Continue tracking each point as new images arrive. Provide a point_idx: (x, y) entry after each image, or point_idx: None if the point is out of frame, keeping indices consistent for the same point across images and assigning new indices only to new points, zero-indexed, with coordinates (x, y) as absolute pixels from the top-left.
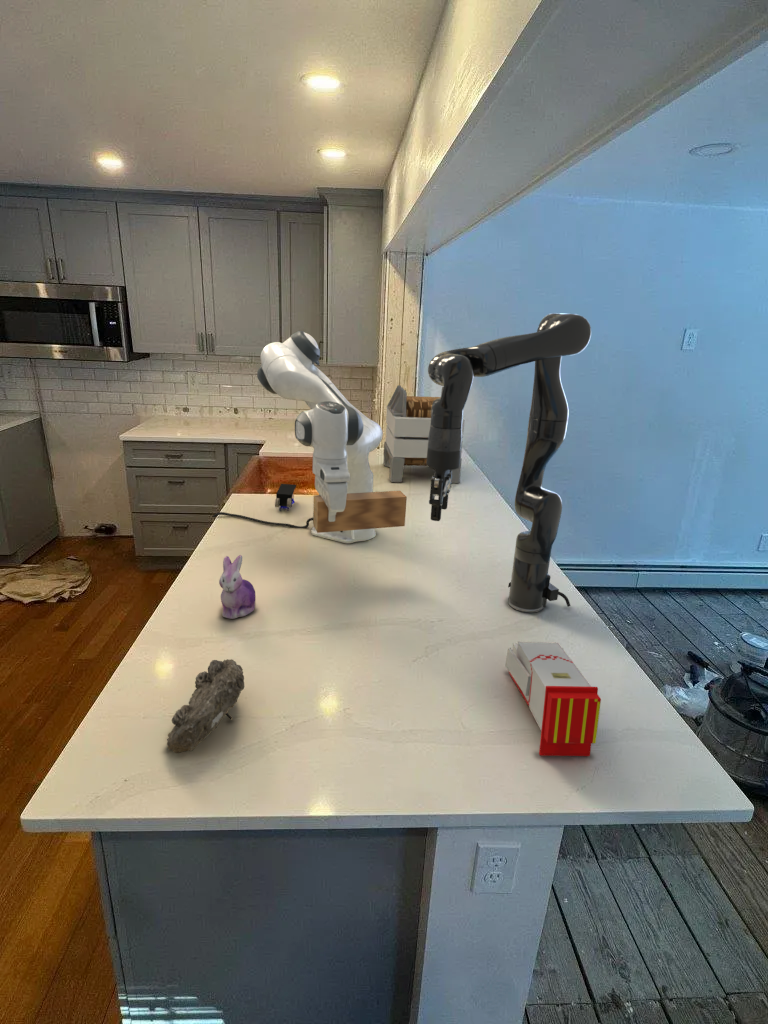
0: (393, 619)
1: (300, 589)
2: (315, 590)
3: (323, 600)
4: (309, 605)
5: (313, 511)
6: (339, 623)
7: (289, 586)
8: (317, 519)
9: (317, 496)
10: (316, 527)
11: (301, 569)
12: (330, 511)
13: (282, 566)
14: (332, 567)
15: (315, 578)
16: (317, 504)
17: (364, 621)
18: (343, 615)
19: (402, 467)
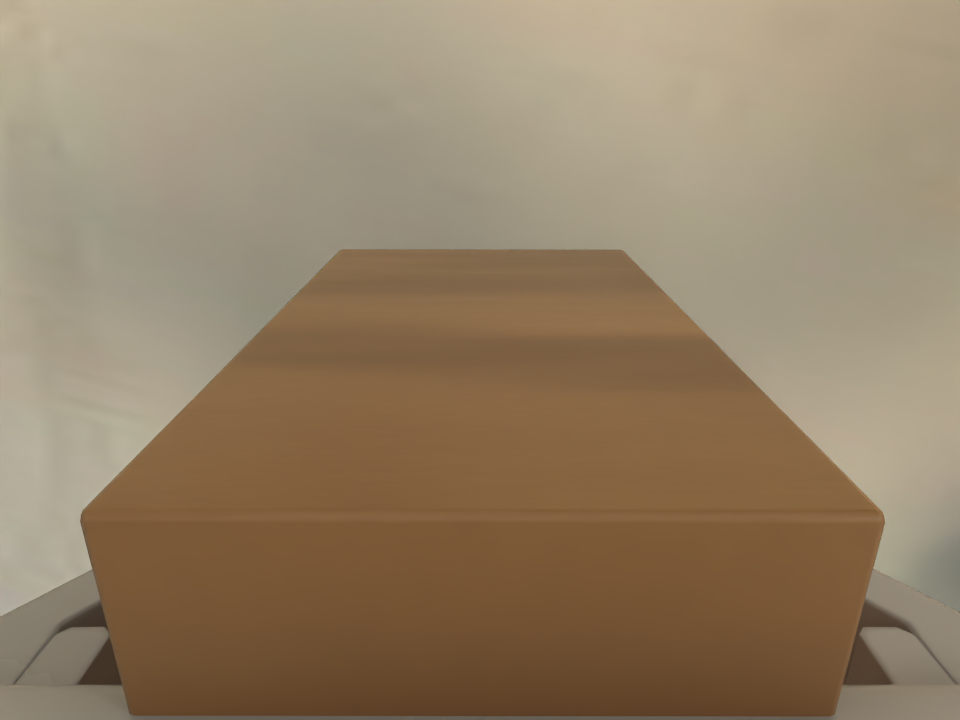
0: (101, 484)
1: (515, 77)
2: (478, 172)
3: (344, 192)
4: (296, 94)
5: (675, 312)
6: (73, 222)
7: (576, 8)
8: (287, 305)
9: (703, 615)
10: (393, 261)
11: (793, 141)
12: (15, 634)
13: (893, 12)
14: (746, 339)
15: (636, 206)
16: (162, 454)
17: (88, 352)
18: (158, 263)
19: None
